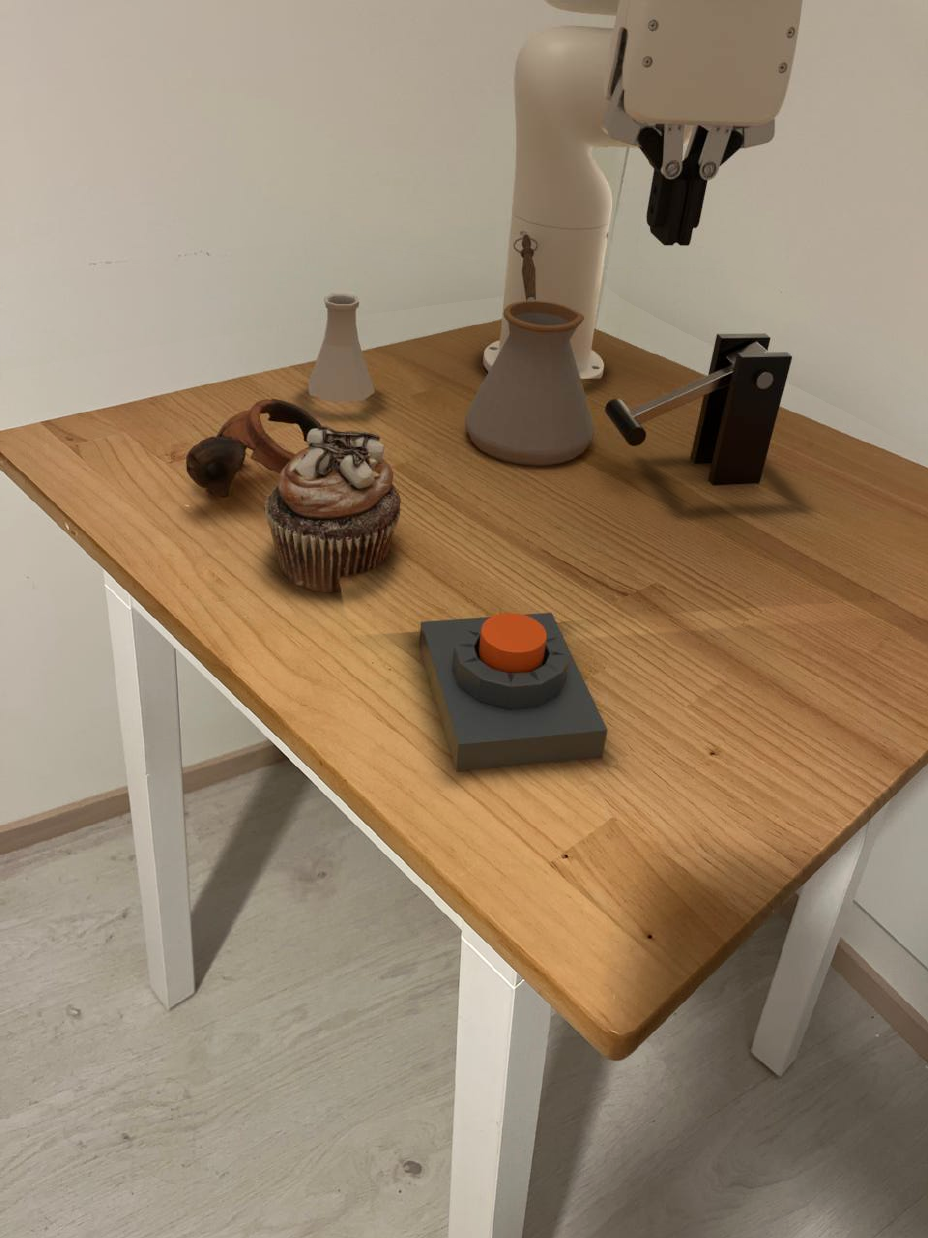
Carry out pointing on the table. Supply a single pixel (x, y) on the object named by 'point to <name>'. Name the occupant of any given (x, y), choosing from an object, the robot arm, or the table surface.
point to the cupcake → (333, 509)
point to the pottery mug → (244, 445)
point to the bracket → (740, 411)
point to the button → (512, 643)
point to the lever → (670, 399)
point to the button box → (509, 700)
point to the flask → (341, 355)
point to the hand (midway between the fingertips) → (669, 238)
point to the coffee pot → (533, 385)
